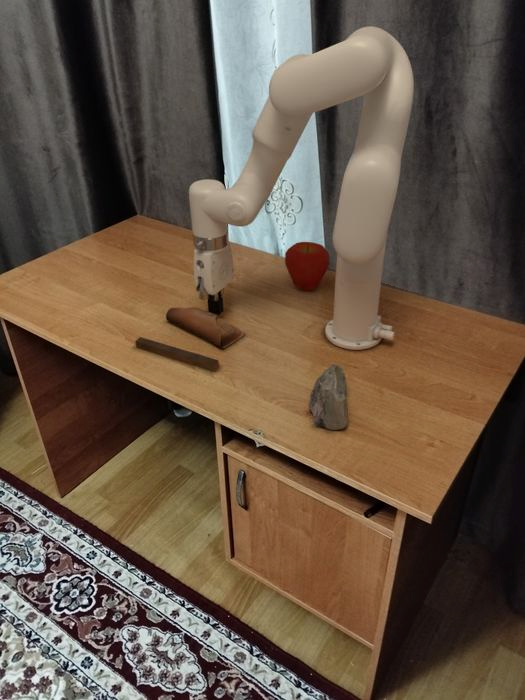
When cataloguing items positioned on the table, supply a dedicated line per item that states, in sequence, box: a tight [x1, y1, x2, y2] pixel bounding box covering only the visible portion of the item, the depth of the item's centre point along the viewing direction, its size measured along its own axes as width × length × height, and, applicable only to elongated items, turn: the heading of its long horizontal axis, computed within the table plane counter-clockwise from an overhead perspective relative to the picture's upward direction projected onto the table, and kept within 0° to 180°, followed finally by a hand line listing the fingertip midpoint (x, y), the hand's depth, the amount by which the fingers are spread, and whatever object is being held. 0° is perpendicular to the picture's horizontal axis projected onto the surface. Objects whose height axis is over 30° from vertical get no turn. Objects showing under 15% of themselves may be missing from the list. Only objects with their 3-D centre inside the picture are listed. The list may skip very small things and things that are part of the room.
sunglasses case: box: [165, 306, 245, 349], centre depth 130 cm, size 18×7×7 cm, turn 49°
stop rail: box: [134, 336, 220, 373], centre depth 122 cm, size 20×2×2 cm, turn 63°
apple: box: [284, 241, 330, 291], centre depth 143 cm, size 11×11×12 cm
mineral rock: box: [308, 364, 349, 431], centre depth 106 cm, size 13×11×10 cm
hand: (216, 312), depth 134 cm, fingers closed
